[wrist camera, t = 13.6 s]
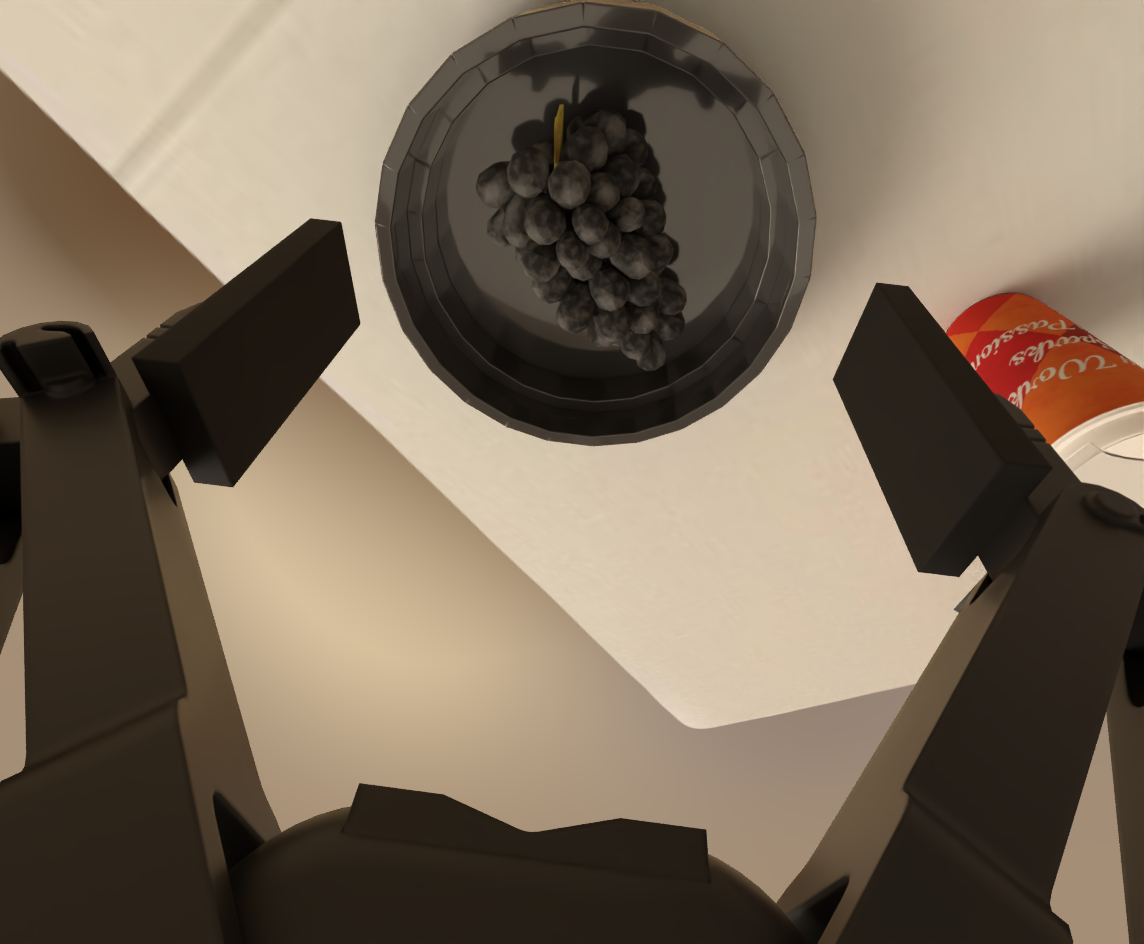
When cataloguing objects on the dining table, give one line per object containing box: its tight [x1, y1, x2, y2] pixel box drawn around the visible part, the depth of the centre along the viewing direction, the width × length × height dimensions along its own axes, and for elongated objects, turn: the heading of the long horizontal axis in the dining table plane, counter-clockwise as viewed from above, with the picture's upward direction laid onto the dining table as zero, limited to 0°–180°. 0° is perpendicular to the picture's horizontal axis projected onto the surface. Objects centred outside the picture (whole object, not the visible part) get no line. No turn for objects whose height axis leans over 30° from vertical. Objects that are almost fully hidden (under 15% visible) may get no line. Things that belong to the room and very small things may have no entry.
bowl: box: [375, 0, 816, 446], centre depth 31 cm, size 22×22×6 cm
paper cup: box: [946, 293, 1144, 508], centre depth 30 cm, size 8×8×14 cm
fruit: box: [476, 104, 687, 371], centre depth 30 cm, size 9×8×15 cm
